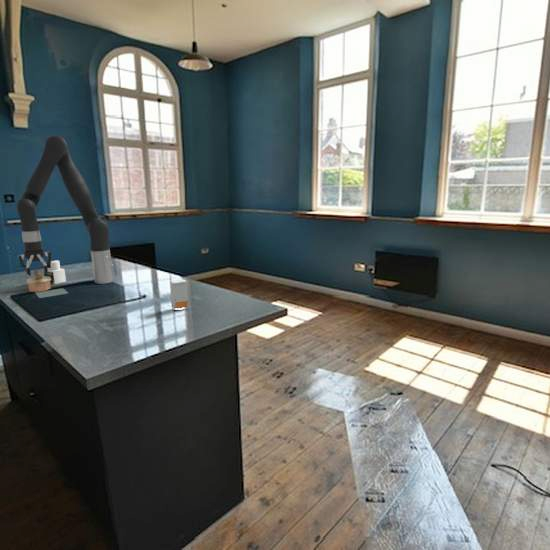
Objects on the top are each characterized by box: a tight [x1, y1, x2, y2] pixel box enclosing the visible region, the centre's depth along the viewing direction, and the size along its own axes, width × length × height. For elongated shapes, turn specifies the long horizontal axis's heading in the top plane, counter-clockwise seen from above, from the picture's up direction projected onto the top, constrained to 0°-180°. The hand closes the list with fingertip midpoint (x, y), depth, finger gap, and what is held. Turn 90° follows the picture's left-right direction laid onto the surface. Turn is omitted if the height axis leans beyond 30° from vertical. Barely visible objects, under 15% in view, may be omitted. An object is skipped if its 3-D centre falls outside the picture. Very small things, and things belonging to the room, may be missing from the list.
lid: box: [25, 269, 51, 285], centre depth 186 cm, size 10×10×6 cm
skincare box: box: [169, 278, 189, 309], centre depth 155 cm, size 6×4×12 cm
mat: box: [35, 287, 69, 299], centre depth 181 cm, size 12×12×1 cm
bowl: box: [27, 281, 52, 293], centre depth 188 cm, size 9×9×4 cm
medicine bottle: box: [43, 259, 67, 285], centre depth 201 cm, size 7×7×12 cm
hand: (37, 274), depth 186 cm, fingers open, 6 cm apart
